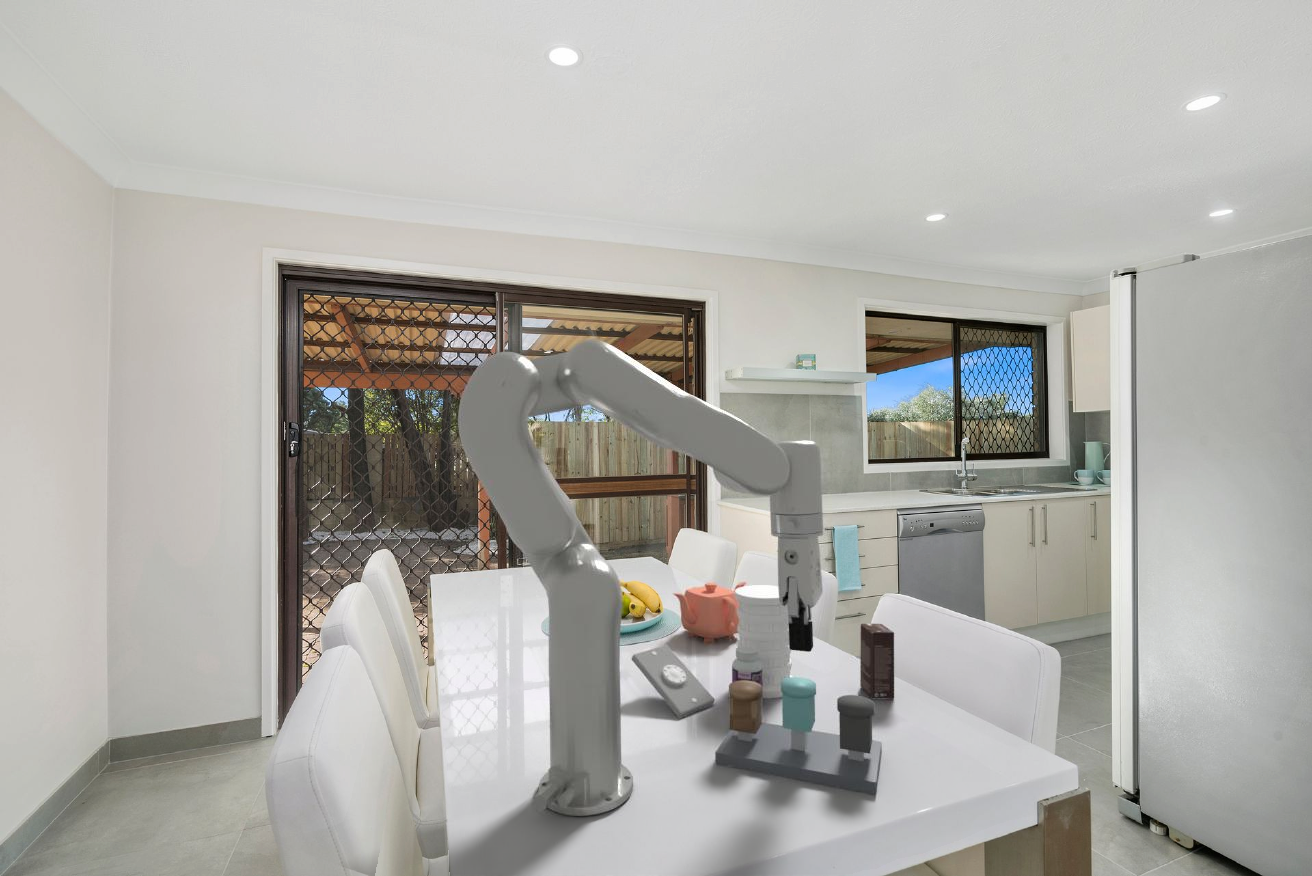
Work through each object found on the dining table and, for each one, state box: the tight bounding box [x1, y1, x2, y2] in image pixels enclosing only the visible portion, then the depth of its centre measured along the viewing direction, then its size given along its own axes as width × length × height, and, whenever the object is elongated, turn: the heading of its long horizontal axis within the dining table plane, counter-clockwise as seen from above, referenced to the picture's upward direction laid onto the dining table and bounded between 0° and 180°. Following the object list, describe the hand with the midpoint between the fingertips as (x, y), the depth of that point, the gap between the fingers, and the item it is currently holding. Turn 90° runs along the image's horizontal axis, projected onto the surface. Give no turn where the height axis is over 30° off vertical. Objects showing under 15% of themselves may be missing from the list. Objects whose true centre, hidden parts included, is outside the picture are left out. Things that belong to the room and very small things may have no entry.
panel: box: [714, 721, 883, 795], centre depth 92 cm, size 12×22×6 cm, turn 67°
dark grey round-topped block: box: [836, 694, 875, 754], centre depth 89 cm, size 5×5×6 cm
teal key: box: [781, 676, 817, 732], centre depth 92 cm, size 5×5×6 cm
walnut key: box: [728, 680, 763, 734], centre depth 95 cm, size 5×5×6 cm
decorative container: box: [735, 584, 794, 699], centre depth 119 cm, size 12×12×18 cm
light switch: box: [631, 644, 716, 719], centre depth 114 cm, size 8×6×14 cm
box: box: [859, 623, 895, 701], centre depth 115 cm, size 6×4×12 cm
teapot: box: [672, 581, 747, 645], centre depth 151 cm, size 15×17×13 cm
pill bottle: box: [731, 646, 764, 703], centre depth 111 cm, size 5×5×10 cm
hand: (801, 648), depth 92 cm, fingers closed
